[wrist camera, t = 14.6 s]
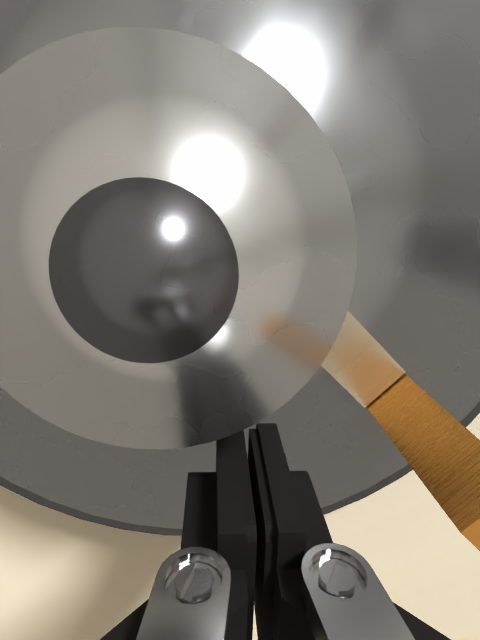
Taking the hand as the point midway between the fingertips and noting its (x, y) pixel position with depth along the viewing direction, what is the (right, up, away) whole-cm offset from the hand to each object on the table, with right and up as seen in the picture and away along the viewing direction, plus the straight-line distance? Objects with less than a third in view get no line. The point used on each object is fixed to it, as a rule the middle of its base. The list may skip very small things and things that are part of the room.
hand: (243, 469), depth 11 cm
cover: (-2, +6, -1) cm, 7 cm away
